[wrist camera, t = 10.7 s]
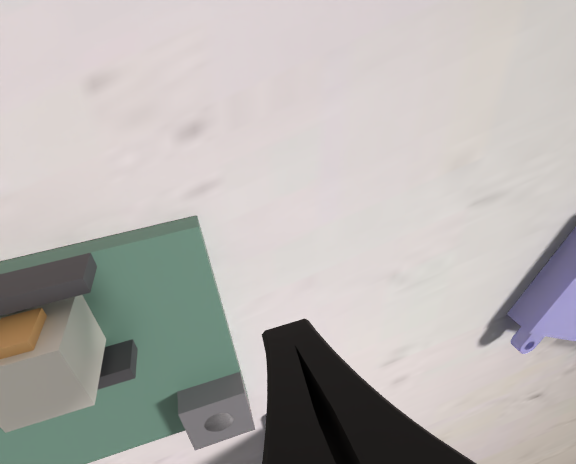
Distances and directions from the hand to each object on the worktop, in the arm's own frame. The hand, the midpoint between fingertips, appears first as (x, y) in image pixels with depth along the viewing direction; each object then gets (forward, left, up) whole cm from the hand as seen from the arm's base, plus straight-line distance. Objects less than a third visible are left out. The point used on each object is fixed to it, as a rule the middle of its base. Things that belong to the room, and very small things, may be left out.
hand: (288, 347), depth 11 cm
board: (-8, +11, -10) cm, 16 cm away
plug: (-4, +10, -9) cm, 14 cm away
